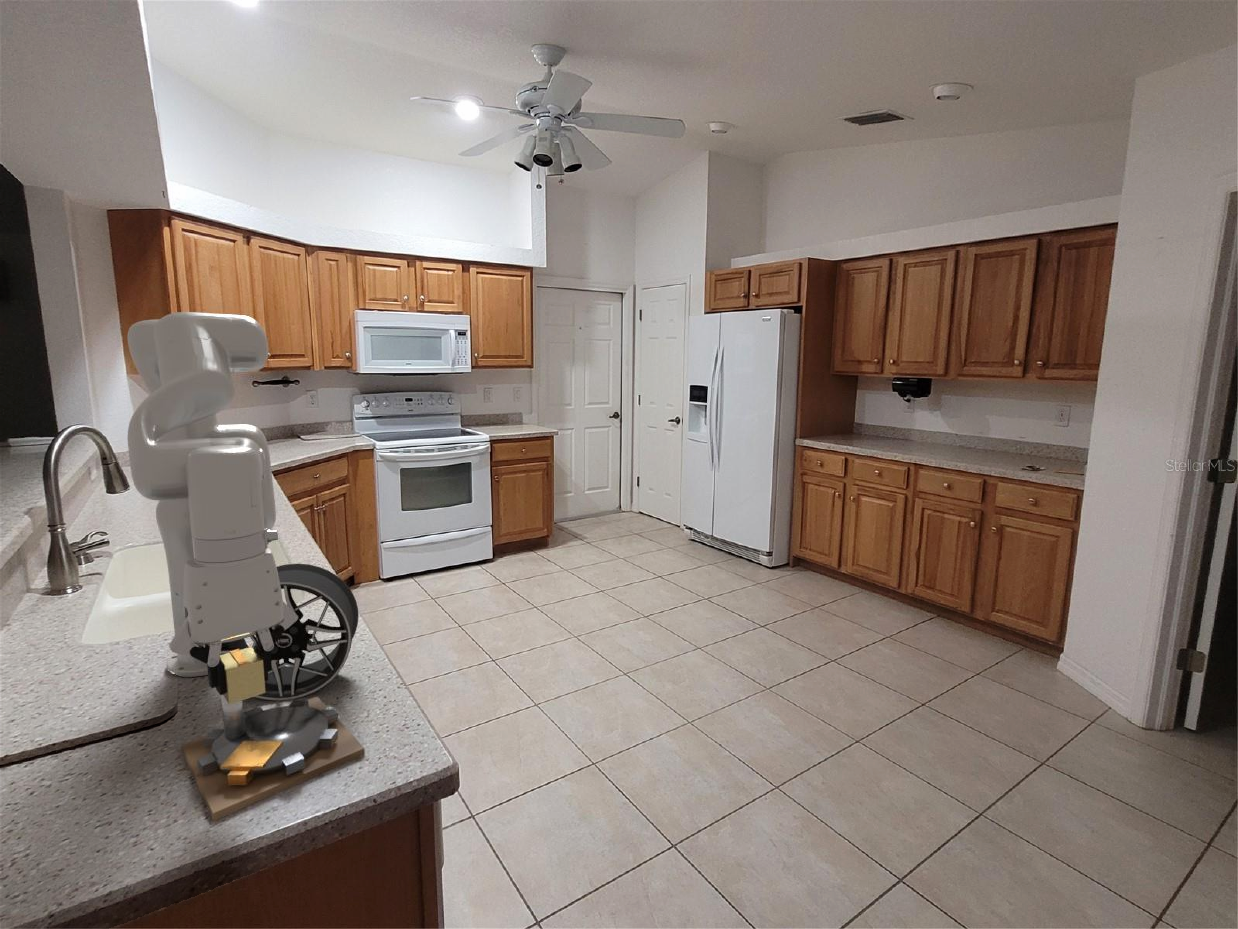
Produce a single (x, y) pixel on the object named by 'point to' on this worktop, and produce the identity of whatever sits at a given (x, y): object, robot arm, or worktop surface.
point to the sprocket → (266, 740)
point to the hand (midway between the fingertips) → (241, 682)
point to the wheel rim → (306, 634)
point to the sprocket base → (236, 797)
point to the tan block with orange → (243, 674)
